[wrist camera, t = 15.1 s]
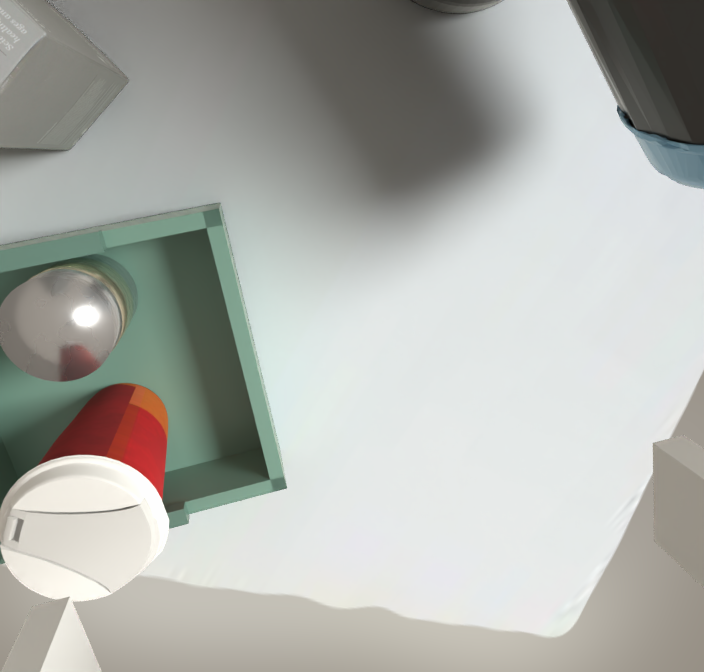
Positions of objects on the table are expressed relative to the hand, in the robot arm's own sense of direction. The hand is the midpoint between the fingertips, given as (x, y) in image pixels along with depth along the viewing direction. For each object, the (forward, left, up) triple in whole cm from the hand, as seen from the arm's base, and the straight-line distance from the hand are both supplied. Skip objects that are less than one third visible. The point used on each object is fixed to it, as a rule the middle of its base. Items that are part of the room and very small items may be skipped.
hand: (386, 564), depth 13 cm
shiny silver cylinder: (-2, -13, -32) cm, 34 cm away
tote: (+3, -13, -33) cm, 35 cm away
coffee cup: (+8, -13, -32) cm, 35 cm away
